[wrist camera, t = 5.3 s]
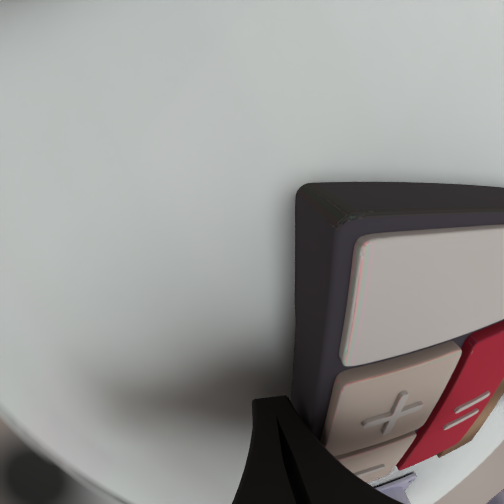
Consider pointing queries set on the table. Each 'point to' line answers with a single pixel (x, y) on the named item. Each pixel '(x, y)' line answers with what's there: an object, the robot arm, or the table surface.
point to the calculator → (396, 317)
